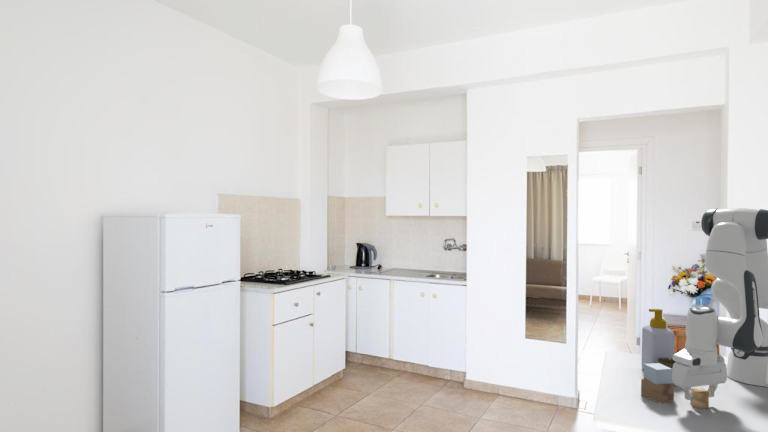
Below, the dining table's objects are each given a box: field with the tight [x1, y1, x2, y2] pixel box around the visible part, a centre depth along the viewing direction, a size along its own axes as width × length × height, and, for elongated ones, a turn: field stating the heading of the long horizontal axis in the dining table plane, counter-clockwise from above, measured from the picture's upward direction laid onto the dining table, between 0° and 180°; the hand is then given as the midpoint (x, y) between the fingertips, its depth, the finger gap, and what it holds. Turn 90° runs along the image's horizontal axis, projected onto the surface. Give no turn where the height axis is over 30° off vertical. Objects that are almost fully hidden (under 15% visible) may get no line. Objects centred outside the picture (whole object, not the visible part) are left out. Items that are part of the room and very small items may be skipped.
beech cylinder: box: [689, 387, 710, 410], centre depth 154 cm, size 5×5×5 cm
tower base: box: [640, 377, 675, 404], centre depth 160 cm, size 7×7×6 cm
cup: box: [658, 357, 676, 368], centre depth 176 cm, size 8×7×8 cm
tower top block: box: [643, 363, 672, 384], centre depth 160 cm, size 6×6×5 cm
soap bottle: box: [641, 308, 675, 370], centre depth 185 cm, size 9×9×25 cm
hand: (699, 398), depth 153 cm, fingers open, 8 cm apart
